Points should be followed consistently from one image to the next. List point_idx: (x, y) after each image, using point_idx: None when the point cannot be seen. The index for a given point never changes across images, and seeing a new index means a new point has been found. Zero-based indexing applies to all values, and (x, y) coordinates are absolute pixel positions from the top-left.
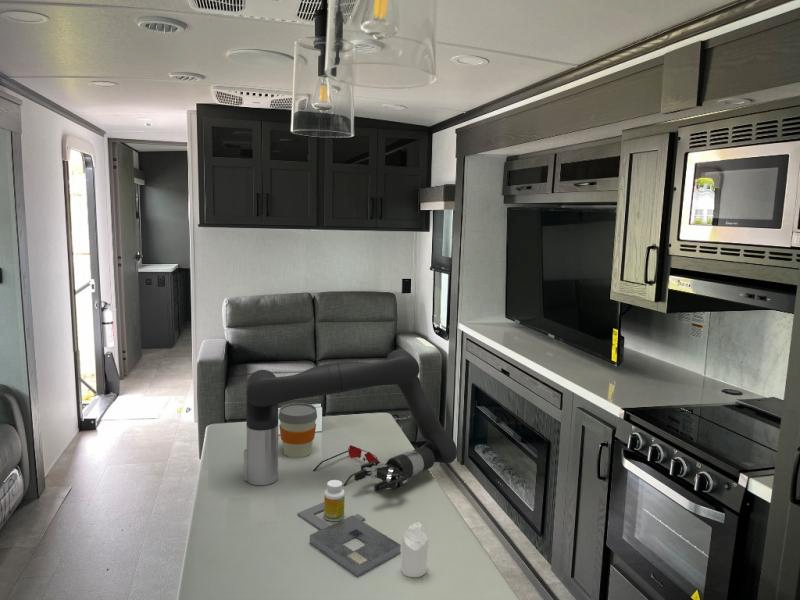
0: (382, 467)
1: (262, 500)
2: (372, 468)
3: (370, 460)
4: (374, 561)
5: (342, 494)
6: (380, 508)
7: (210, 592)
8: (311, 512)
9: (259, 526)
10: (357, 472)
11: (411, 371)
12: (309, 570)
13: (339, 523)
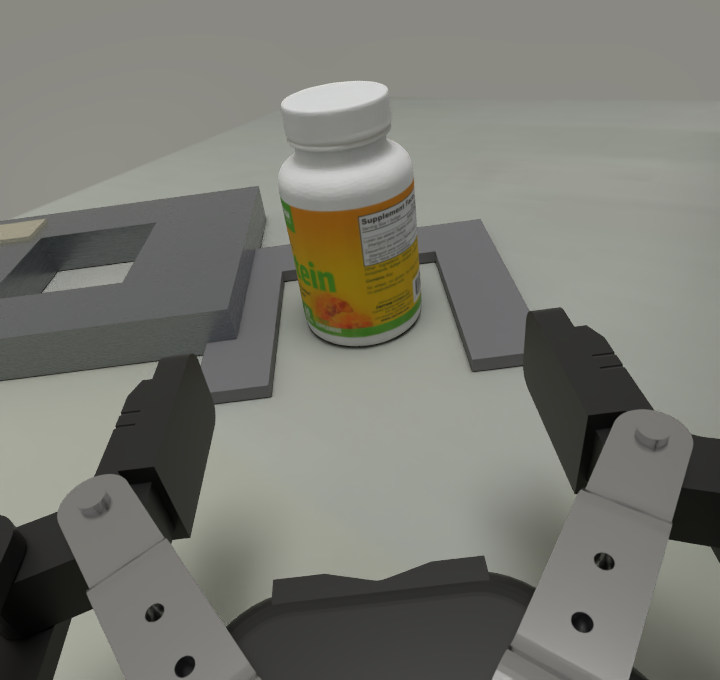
0: (502, 672)
1: (684, 181)
2: (580, 495)
3: None
4: None
5: (281, 178)
6: (213, 573)
7: (280, 110)
8: (450, 249)
9: (474, 161)
10: (569, 326)
11: None
12: (157, 197)
13: (226, 255)
